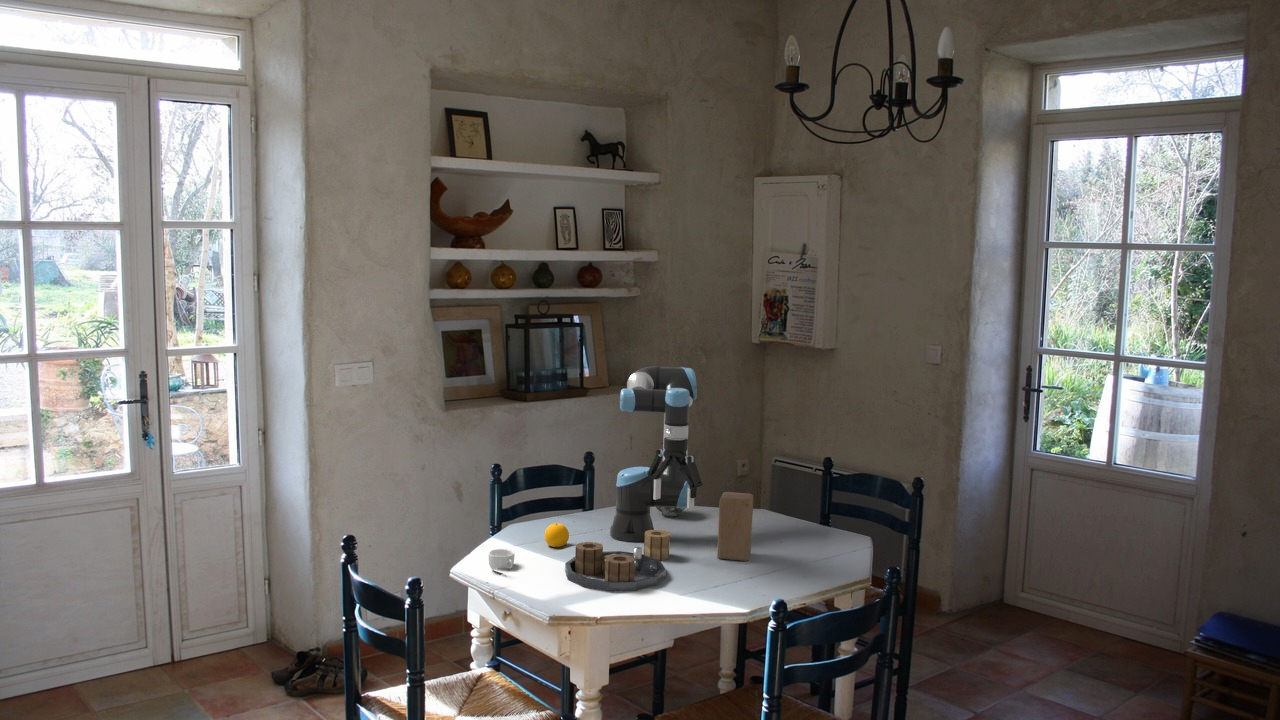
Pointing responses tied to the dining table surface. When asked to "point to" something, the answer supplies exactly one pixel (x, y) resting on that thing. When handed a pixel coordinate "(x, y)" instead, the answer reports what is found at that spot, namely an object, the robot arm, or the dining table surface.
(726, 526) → the wooden block
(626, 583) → the carrier
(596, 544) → the seated gear
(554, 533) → the orange
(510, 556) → the teacup
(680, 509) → the bowl
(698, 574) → the dining table surface
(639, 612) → the dining table surface
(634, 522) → the robot arm
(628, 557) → the seated gear
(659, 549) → the planet gear
